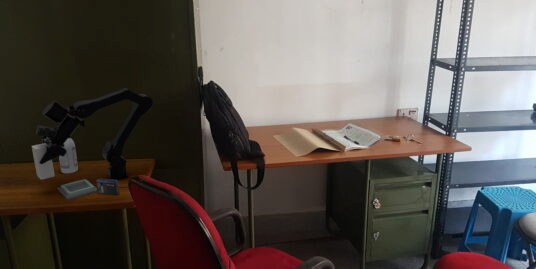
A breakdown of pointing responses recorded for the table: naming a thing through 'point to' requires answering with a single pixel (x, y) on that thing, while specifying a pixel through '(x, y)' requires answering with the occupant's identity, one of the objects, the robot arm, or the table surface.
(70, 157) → the bath foam
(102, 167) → the table surface
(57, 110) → the robot arm
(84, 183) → the base plate
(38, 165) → the white post
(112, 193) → the mini dv tape
